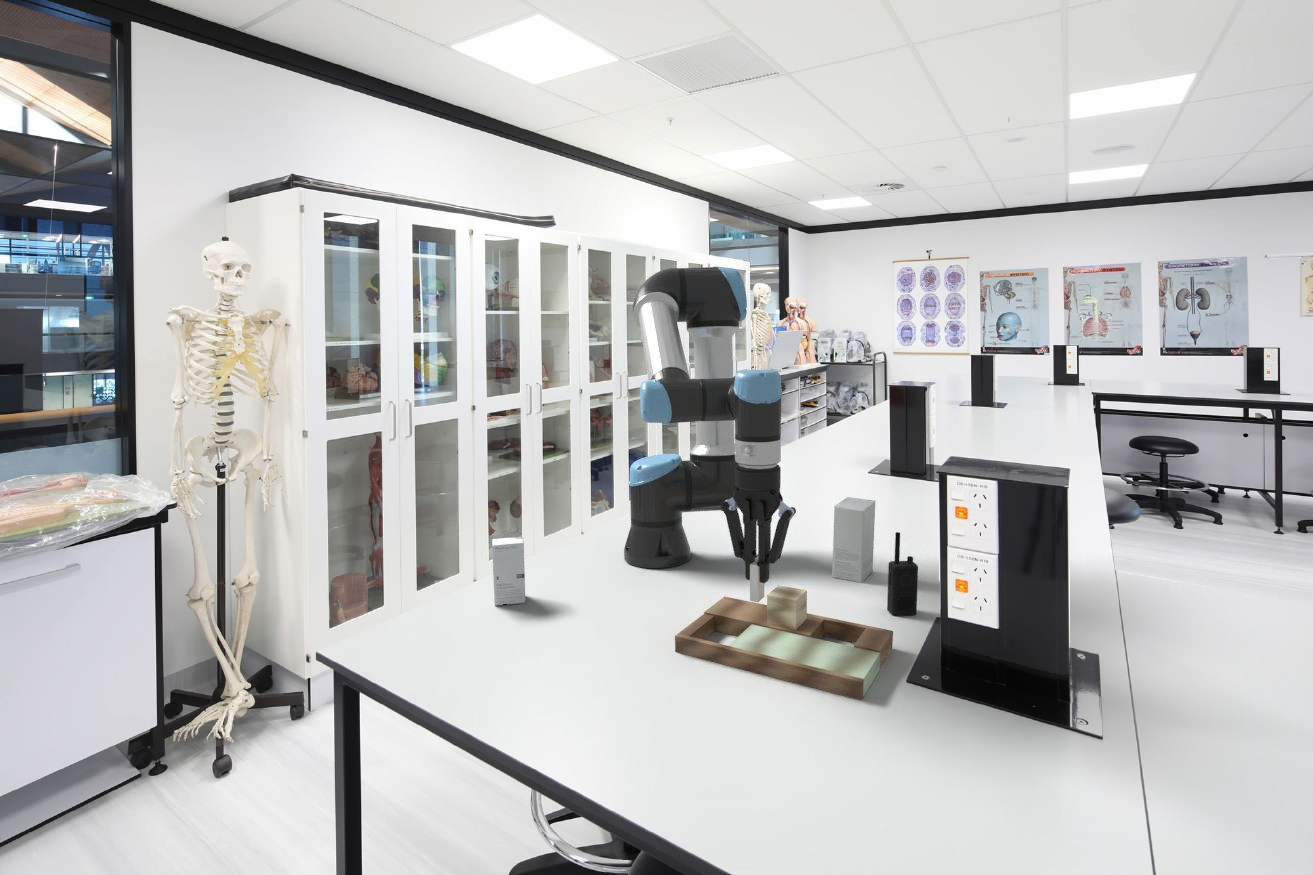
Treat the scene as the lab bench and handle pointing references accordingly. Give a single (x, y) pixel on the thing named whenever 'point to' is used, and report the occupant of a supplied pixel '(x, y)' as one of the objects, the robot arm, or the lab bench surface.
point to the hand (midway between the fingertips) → (757, 598)
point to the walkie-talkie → (902, 584)
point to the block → (787, 607)
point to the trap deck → (790, 647)
